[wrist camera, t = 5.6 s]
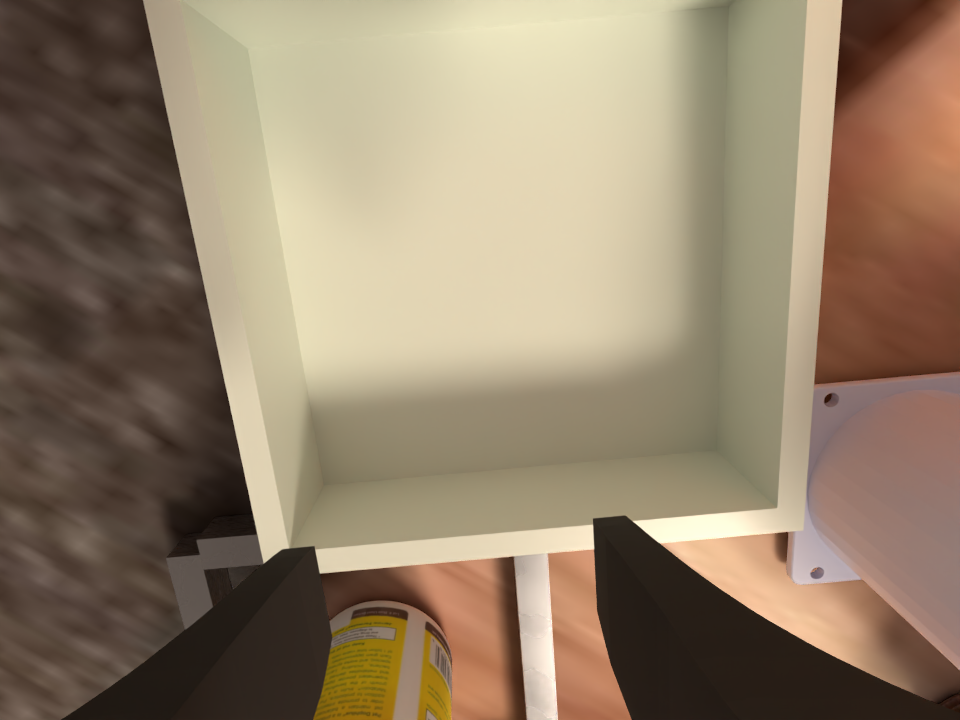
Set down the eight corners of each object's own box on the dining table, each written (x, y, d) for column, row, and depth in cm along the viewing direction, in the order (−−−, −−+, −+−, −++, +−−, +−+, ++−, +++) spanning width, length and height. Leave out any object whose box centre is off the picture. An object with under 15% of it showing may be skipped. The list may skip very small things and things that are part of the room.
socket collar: (539, 488, 21) (544, 509, 20) (557, 764, 24) (562, 799, 23) (183, 520, 21) (161, 542, 20) (251, 792, 24) (238, 828, 23)
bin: (744, -17, 17) (850, -104, 12) (728, 459, 21) (803, 530, 16) (226, 29, 17) (134, -40, 12) (311, 496, 21) (266, 578, 16)
